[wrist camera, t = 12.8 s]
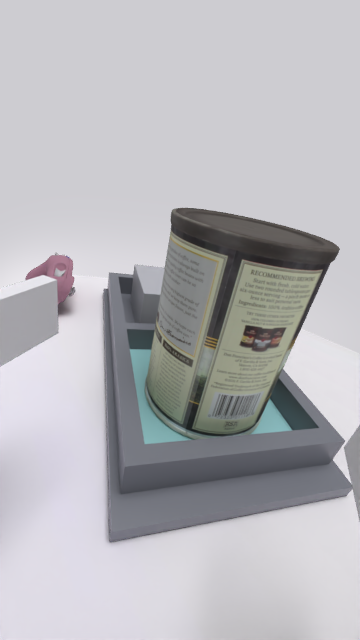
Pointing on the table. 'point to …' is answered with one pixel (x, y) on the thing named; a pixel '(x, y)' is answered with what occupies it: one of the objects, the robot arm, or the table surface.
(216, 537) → the table surface
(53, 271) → the video game controller
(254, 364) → the coffee can
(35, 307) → the robot arm
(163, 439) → the grey compartment tray
